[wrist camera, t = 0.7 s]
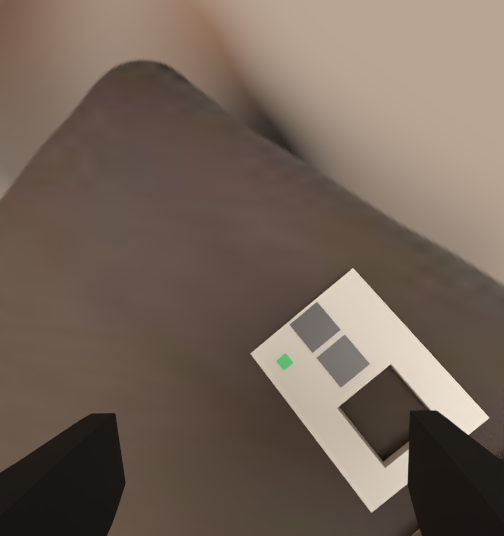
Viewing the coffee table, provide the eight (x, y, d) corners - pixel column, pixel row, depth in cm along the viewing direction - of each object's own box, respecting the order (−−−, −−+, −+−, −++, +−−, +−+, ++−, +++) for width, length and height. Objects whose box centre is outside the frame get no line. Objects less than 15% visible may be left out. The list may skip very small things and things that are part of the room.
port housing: (480, 414, 29) (490, 418, 27) (370, 503, 29) (371, 513, 27) (353, 273, 32) (353, 267, 30) (256, 354, 33) (249, 353, 31)
